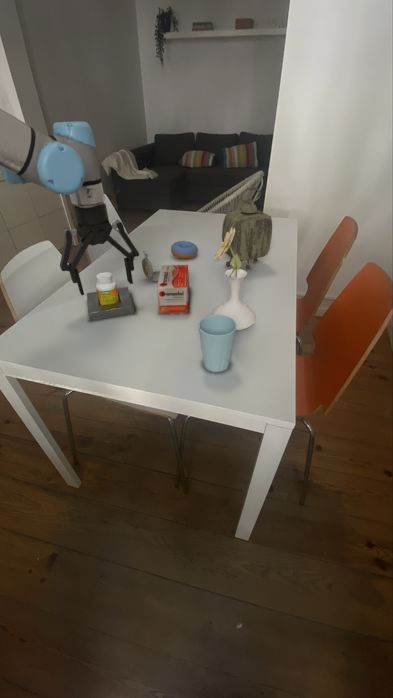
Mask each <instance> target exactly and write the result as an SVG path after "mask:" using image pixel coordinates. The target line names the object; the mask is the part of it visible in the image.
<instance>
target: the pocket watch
mask: <svg viewBox="0 0 393 698" xmlns="http://www.w3.org/2000/svg"><path fill="white" fill-rule="evenodd" d="M142 252H143V255H144V258H142V260H141V266H142V267H141V269H142V271H143V274H144V276H145V278H146V279H147V280H149V281H151V282H156V283H158V280H159V275H160V270H158V271H154V269H153V265H152V263H151V261H150V259H149V258H148V253H147V251H145V250H143V251H142Z"/></svg>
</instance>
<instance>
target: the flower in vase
mask: <svg viewBox="0 0 393 698" xmlns="http://www.w3.org/2000/svg"><path fill="white" fill-rule="evenodd" d="M228 234H229V235H228ZM234 234H235V228H234V229H233V230H232V227H231V229H230V232H229V233H228V232H227V233H226V236H225V239H224V242H222V241H221V242H220V243H219V249H218V250H217V252H215V255H214V257H215V258H214V261H216V262H219V261H220V260H221V259H223V257H224V256H225V255H226V252H227V250H228V249H229V248H230V250H231V252H232V255H233V258H232V260H231V262H230V265H231V266H232V267H233V268H230V269H227V270H226V271H225V275H226V277H227V279H228V281H229V288H230V289H229V290H230V291H229V293H230V294H229V298H228V300H226V301H225V302H223V303H220V304H219V305H218V306H217V307H216V308H214V309H213V311H212V313H211V315H225V316H228V317H230V318H232V319H233V320H234V321H235V322H236V324H237V327H236V332H237V331H243V330H246V329H248V328H250V327H252V326H253V325H254V323H255V322H256V314H255V312H254V310H253V309H252V308H251V307H250V306H249V305H247V304H245V303H244V302H242V301H241V299H240V291H241V286H242V282H243V280H244V279H245V277H246V276H247V274H248V272H247V271H246V270H245V269H241V267H242V265H243V263H242V261H240V259H239V257H238V255H237V254H236V255H234V253H233V250H232V248H231V247H230V244H231V242H232V240H233V237H234Z"/></svg>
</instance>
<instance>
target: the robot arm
mask: <svg viewBox="0 0 393 698" xmlns="http://www.w3.org/2000/svg"><path fill="white" fill-rule="evenodd" d="M52 129H53V134H49V135H45V134H44V133H42V132H40V131H39V130H37V129H36V128H33V127H31V126H30V125H29V124H27V123H26V122H24V121H22V120H21V119H19V118H17V117H15V116H14V115H12V114H10V113H9V112H7V111H6V110H4V109H2V108H0V174H1V176H2V177H3V179H4V181H6V182H7V183H8V184H10V185H21V184H22V185H26V184H30V183H33V184H35V185H38V186H40V187H42V188H45V189H47V190H48V191H50V192H52V193H54V194H57V195H69V198H70V203H71V204H72V205H73V206H72V210H73V215H74V220H75V223H76V228H68V227H66V228H64V229H63V233H64V242H63V247H62V251H61V256H60V257H61V258H60V262H59V267H60V270H61V271H62V272H69V275H70V279H71V282H72V283H73V284H77V287H78V291H79V293H80V295H81V296H85V291H84V288H83V284H82V279H81V277H80V273H79V270H78V269H77V267H78V265H79V263H80V261H81V260H82V257H83V256H84V254H85V251H86V250H87V249H88V247H89V246H92V247H94V246H97V245H104V244H106V242H108V243H109V244H110V245H112V246H113V247H114V248H115V249H116V250H117V251H119V252H120V253H121V254H122V255H123V256H124V257H123V261H124V268H125V274H126V280H127V282H128V284H130V285H133V284H134V281H133V275H132V274H133V273H132V272H133V271H135V265H134V261H135V258H137V257H139V256H140V253H139V251H138V249H137V248H136V246H135V245H134V243H133V242H132V240H131V239H130V237H129V236H128V234H127V233H126V231H125V227H124V223H123V222H122V221H120V219H116V220H115V222H110V219H109V214H108V208H107V204H106V203H105V200H106V197H105V193H104V188H103V182H102V177H101V170H100V166H99V160H98V154H97V153H98V152H97V145H96V141H95V137H94V134H93V133H94V132H93V130H92V128H91V125H90V124H89V123H88V122H86V121H80V120H79V121H60V122H59V121H57V122H54V123H53V124H52ZM112 230H114V231H115V232H117V233H118V234H119V235H120V237H121V238H122V240H123V241H124V243H125V244H126V245H127V247H128V248H129V250H130V251H128V250H126V248H125V247H123V246H122V245H121V244H120V243H118V241H117V240H115V239H114V238H113V237H112V236H111V233H112ZM76 236H78V237H80V240H79V243H78V245H77V247H76V249H75V250H74V253H73V255H72V257H71V259H70V255H71V251H72V245H73V240H75V238H76ZM69 259H70V261H69Z"/></svg>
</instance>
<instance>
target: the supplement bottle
mask: <svg viewBox="0 0 393 698" xmlns="http://www.w3.org/2000/svg"><path fill="white" fill-rule="evenodd" d="M95 278H96V280H97V282H96V284H95V288H96V292H97V293H98V297H99V302H100V306H102V305H108V304H114V303H121V302H120V300H119V296H118V291H117V288H118V285H117V283H116V280H114V279H113V274H112V273H111V272H110V271H109V272H108V271H102V272H98V273H97V275H96V277H95Z"/></svg>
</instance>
